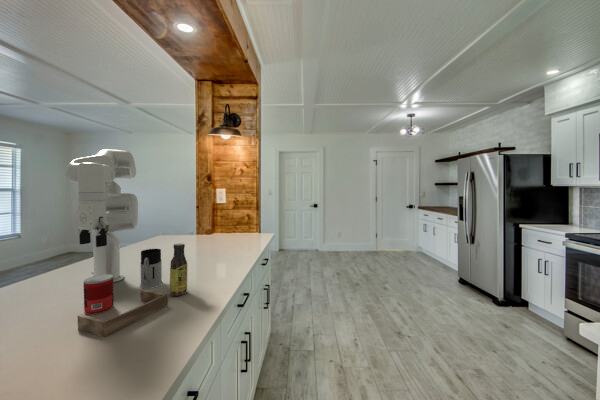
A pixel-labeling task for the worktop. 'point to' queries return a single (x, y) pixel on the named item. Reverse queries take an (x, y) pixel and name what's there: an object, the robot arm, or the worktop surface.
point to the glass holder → (151, 268)
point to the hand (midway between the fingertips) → (93, 245)
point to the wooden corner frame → (124, 315)
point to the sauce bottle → (178, 271)
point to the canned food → (98, 294)
